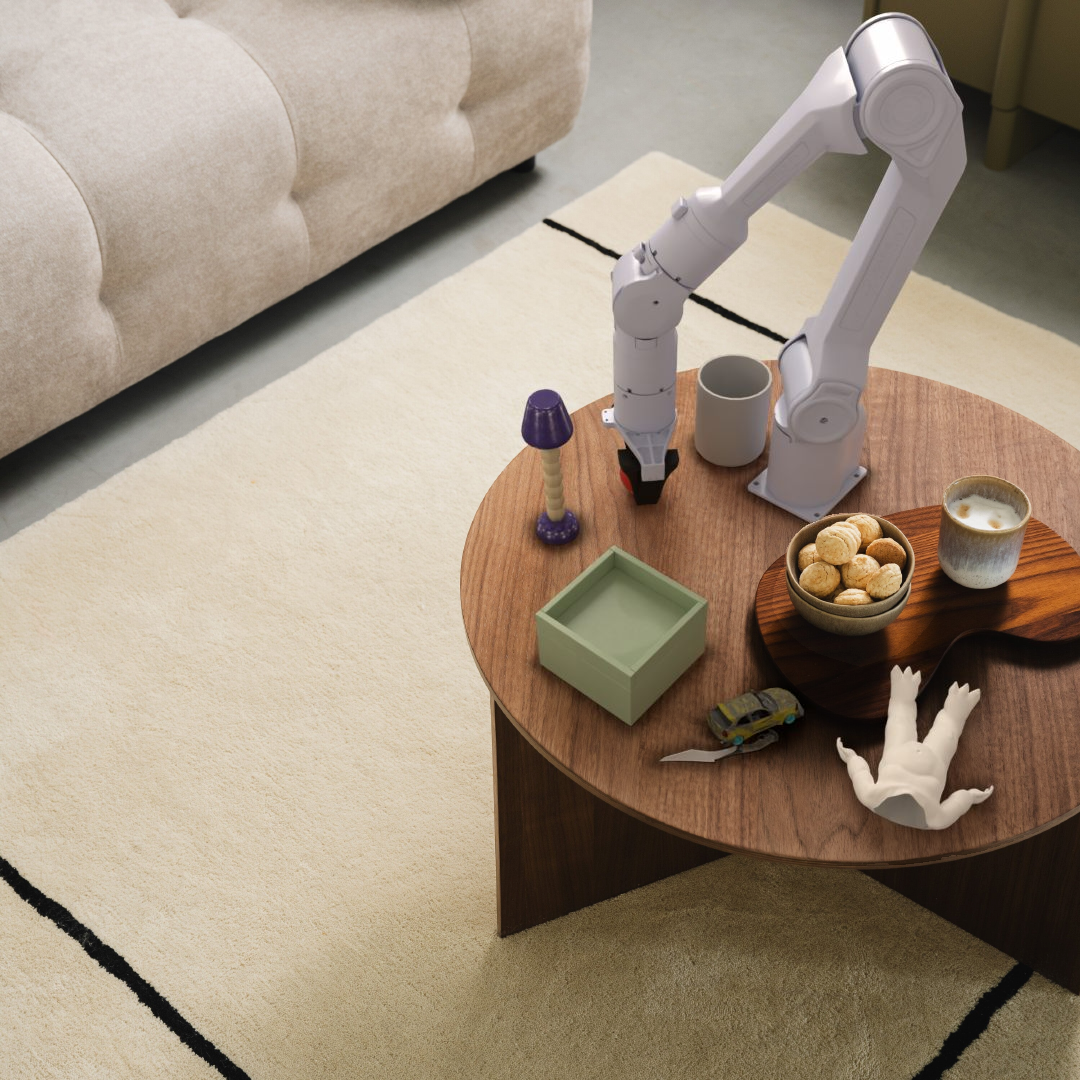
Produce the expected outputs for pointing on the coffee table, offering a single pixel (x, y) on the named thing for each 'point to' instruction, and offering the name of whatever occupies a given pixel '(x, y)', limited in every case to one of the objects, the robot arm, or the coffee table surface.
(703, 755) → the knife
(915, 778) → the toy creature
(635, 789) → the coffee table surface
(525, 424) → the toy lamp
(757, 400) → the cup
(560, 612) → the open box
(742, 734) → the race car
